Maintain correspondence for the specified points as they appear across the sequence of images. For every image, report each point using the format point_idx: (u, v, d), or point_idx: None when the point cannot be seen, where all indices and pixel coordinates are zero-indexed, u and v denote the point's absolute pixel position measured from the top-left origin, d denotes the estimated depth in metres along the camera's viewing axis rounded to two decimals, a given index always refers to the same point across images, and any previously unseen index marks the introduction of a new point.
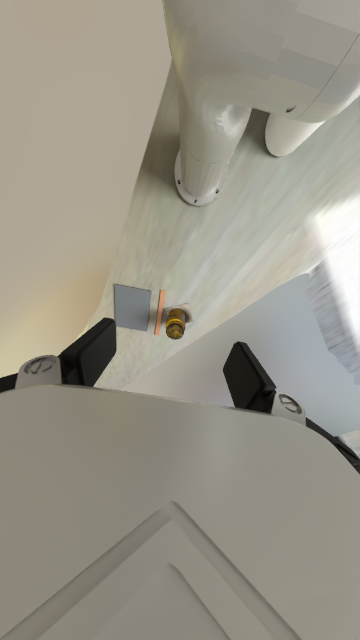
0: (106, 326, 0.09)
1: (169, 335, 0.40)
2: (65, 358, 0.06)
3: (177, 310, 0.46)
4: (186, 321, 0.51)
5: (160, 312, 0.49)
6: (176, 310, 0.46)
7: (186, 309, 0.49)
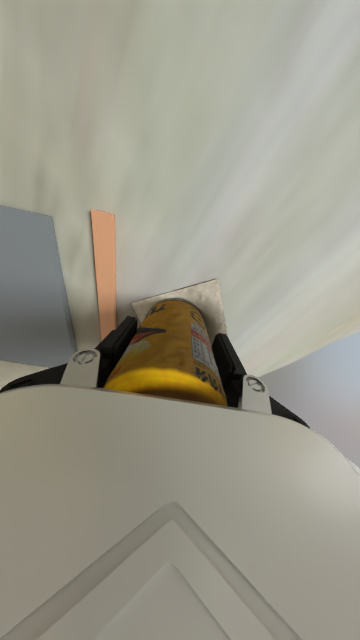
0: (131, 324, 0.10)
1: None
2: (103, 351, 0.07)
3: (177, 306, 0.11)
4: None
5: (108, 312, 0.13)
6: (171, 307, 0.10)
7: (212, 303, 0.13)
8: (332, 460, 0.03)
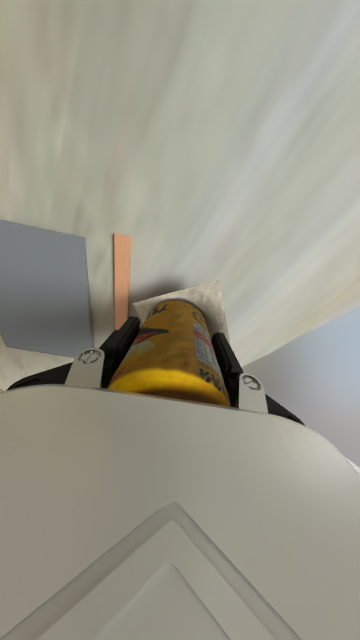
0: (133, 324, 0.10)
1: None
2: (107, 351, 0.07)
3: (179, 306, 0.11)
4: None
5: (122, 309, 0.17)
6: (173, 307, 0.10)
7: (214, 303, 0.13)
8: (332, 460, 0.03)
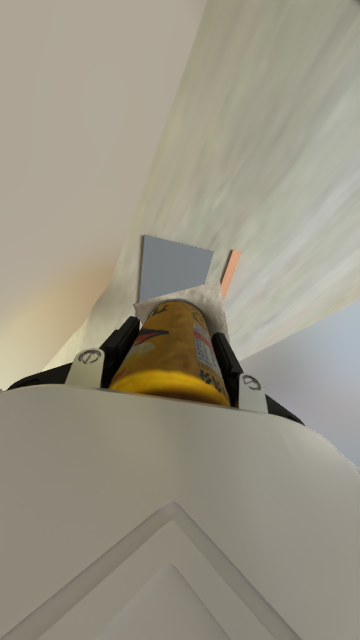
0: (133, 324, 0.10)
1: None
2: (107, 351, 0.07)
3: (179, 307, 0.11)
4: None
5: (222, 295, 0.27)
6: (174, 308, 0.10)
7: (214, 304, 0.13)
8: (332, 460, 0.03)
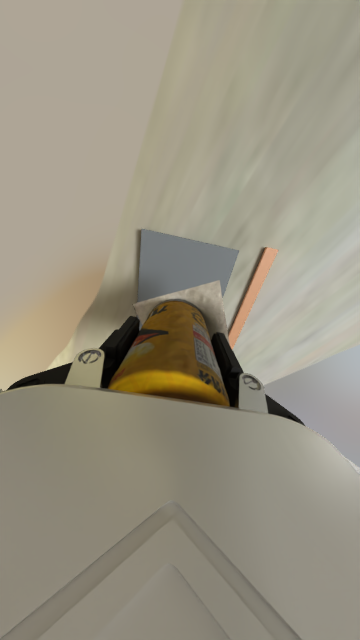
0: (133, 324, 0.10)
1: None
2: (107, 351, 0.07)
3: (179, 307, 0.11)
4: None
5: (246, 308, 0.20)
6: (173, 308, 0.10)
7: (213, 304, 0.13)
8: (332, 460, 0.03)
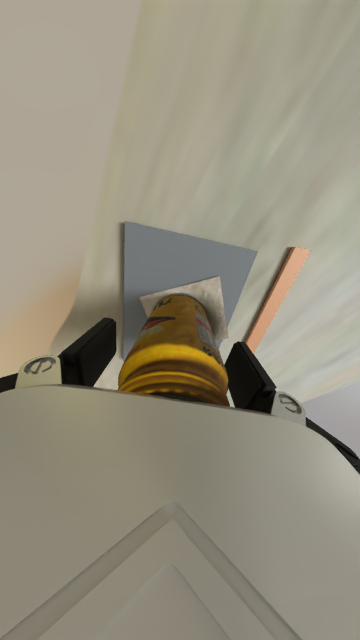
0: (106, 326, 0.09)
1: None
2: (65, 358, 0.06)
3: (183, 300, 0.12)
4: None
5: (263, 325, 0.16)
6: (178, 300, 0.12)
7: (214, 298, 0.14)
8: (332, 460, 0.03)
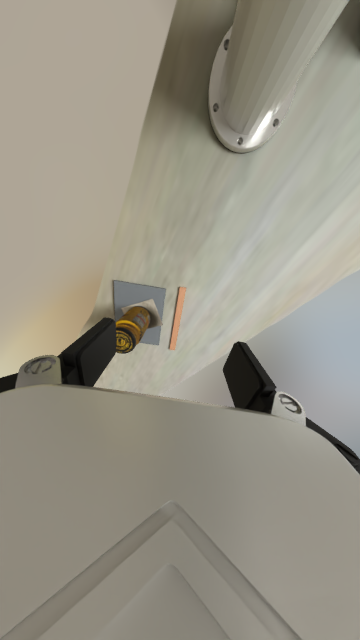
0: (106, 326, 0.09)
1: None
2: (65, 358, 0.06)
3: (136, 308, 0.31)
4: (153, 325, 0.36)
5: (178, 318, 0.35)
6: (134, 309, 0.31)
7: (152, 307, 0.34)
8: (332, 460, 0.03)
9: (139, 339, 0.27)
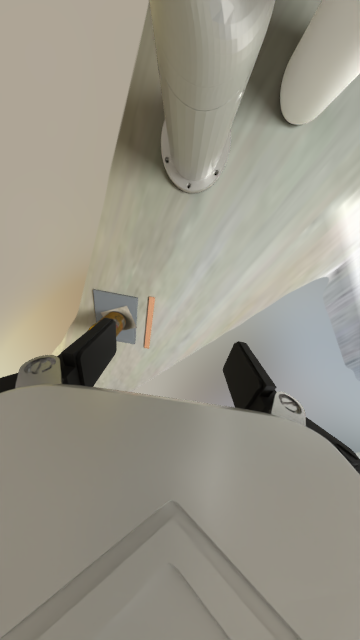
0: (106, 326, 0.09)
1: None
2: (65, 358, 0.06)
3: (112, 314, 0.38)
4: (129, 327, 0.42)
5: (149, 322, 0.41)
6: (109, 314, 0.37)
7: (127, 313, 0.40)
8: (332, 460, 0.03)
9: None
